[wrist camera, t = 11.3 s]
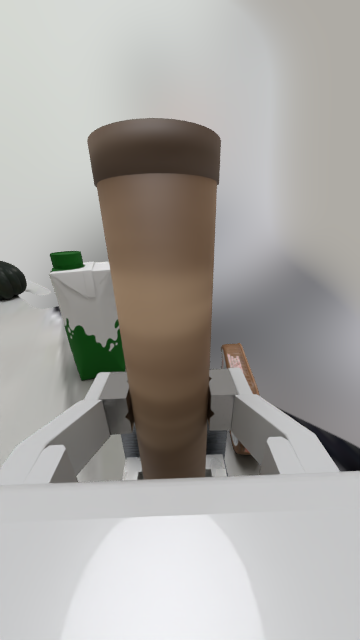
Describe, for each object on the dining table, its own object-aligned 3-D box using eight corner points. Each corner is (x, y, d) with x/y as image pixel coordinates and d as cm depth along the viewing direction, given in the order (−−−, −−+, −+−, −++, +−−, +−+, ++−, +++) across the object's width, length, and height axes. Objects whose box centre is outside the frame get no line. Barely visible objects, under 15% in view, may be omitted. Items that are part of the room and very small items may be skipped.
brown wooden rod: (184, 581, 11) (166, 98, 3) (140, 534, 12) (59, 145, 5) (213, 517, 13) (240, 150, 5) (172, 485, 14) (150, 169, 7)
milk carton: (81, 356, 42) (54, 250, 33) (128, 348, 44) (113, 247, 36) (74, 385, 34) (37, 257, 26) (131, 374, 36) (114, 253, 28)
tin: (261, 474, 22) (275, 415, 18) (230, 472, 22) (238, 413, 18) (236, 377, 35) (241, 332, 32) (217, 376, 35) (220, 332, 32)
